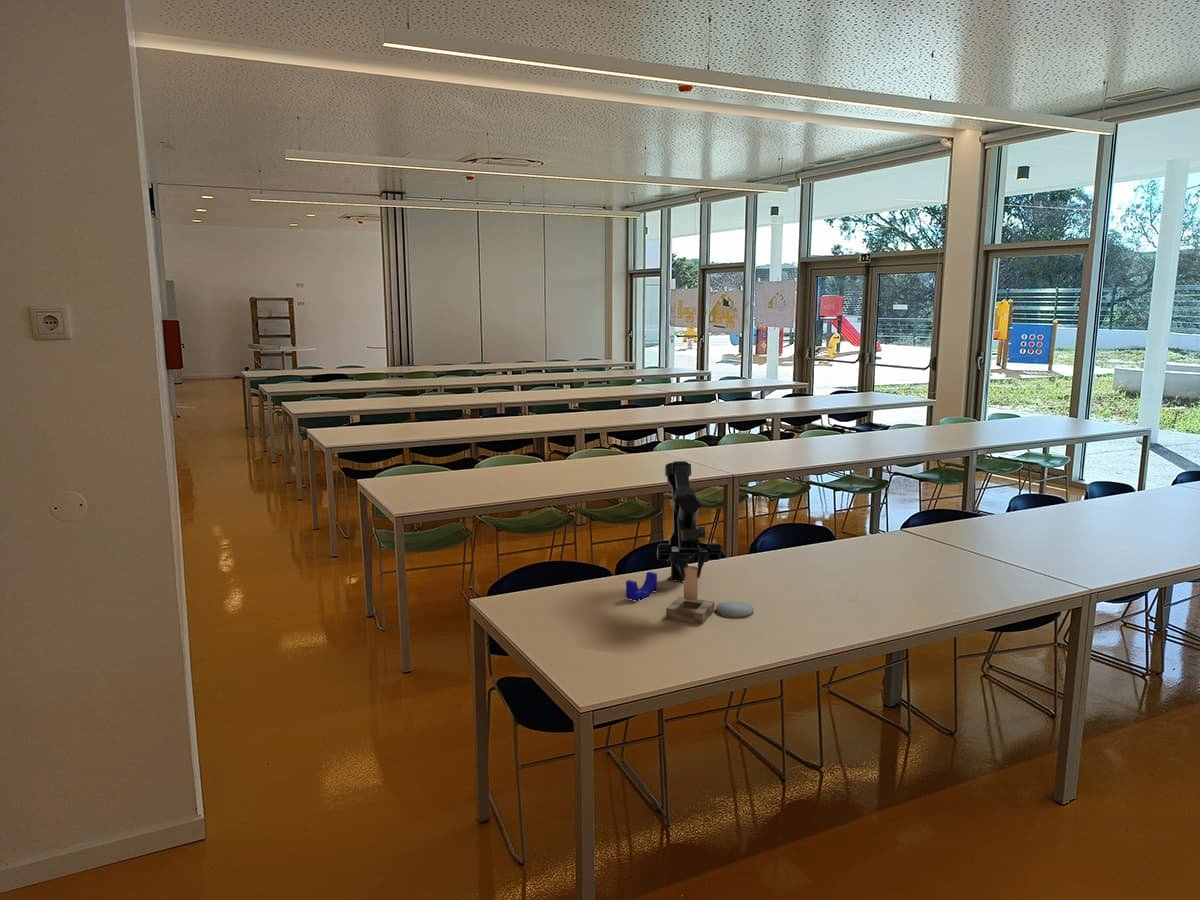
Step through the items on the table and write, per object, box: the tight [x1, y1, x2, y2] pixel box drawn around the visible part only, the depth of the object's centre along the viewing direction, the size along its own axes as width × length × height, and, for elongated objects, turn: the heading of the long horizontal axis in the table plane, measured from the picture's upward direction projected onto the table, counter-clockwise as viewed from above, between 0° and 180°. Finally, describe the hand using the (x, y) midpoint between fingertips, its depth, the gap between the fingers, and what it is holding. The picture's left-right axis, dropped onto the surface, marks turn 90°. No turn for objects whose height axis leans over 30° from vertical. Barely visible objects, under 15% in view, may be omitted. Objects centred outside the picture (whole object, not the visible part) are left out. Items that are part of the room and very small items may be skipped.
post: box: [683, 565, 699, 600], centre depth 236 cm, size 4×4×9 cm
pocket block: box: [665, 596, 715, 625], centre depth 238 cm, size 11×11×3 cm
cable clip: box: [625, 571, 658, 601], centre depth 255 cm, size 12×4×6 cm, turn 140°
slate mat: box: [715, 601, 754, 619], centre depth 240 cm, size 11×11×1 cm
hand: (691, 577), depth 235 cm, fingers closed on post, 4 cm apart
